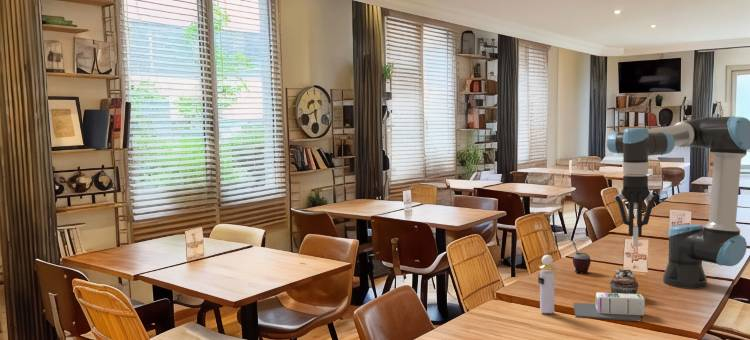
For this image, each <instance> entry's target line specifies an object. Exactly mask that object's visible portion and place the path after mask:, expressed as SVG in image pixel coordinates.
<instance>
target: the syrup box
mask: <svg viewBox="0 0 750 340" xmlns="http://www.w3.org/2000/svg"><path fill="white" fill-rule="evenodd" d="M645 302H646V299H645V298H644V296H643V295H642V294H641V293H636V294H627V293H611V292H601V291H600V292H599V291H598V292H596V293H595V304H596V309H597V311H598V313H604V314H623V315H639V316H645V312H646V311H645V310H646V309H645V308H646V306H645V304H646V303H645Z"/></svg>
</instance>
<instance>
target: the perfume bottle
mask: <svg viewBox="0 0 750 340" xmlns="http://www.w3.org/2000/svg"><path fill="white" fill-rule="evenodd" d="M553 258H554V257H552V255H550V254H543V256H542V258H541V263H542V264H538V265H537V266H538V269H540V271H539V275H538V276H537V277H538V282H537V283H538V284H539V311H540V312H541V313H544V314H553V313H555V270H556V269H557V265H555V264H553V263H554V259H553Z"/></svg>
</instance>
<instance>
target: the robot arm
mask: <svg viewBox="0 0 750 340" xmlns="http://www.w3.org/2000/svg"><path fill="white" fill-rule="evenodd" d="M675 146H677V147H680V148H687V147H689V148H690V147H692V148H693V147H694V148H703V149H709V154H710V155H711V156H712V157H713V164H712V165H713V167H712V179H711V192H710V200H709V201H710V202H709V203H710V204H709V214H708V215H709V216H708V218H709V219H708V222H707V223H706V224H704V225H703V224H698V223H697V224H692V223H691V224H690V223H689V224H688V223H687V224H676V225H672V226H671V227H670V228H669V232H668V263H667V264H666V265H667V266H666V267H665V270H664V273H663V277H662V282H663V283H664V284H666V285H668V286H671V287H675V288H676V287H677V288H682V289H683V288H684V289H703V288H706V287H707V286H708V282H707V281H708V279H707V276H706V274H705V270H704V267H703V262H706V263H711V264H716V265H719V266H725V267H726V266H727V267H734V266H737V265H738V264H739V263H740V262H741V261H742V260H743V259H744V257H745V255H746V252H747V247H748V246H747V245H748V244H747V243H748V242H747V240H746V238H745V237H744V236H742V235H741V229H740V228H739V227H738V226H737V215H738V201H739V190H740V177H741V165H742V164H741V163H742V159H743V158H744V157H745V156H747V153H748V152H747V150H748V151H749V150H750V119H748V118H746V117H743V116H706V117H699V118H694V119H690V120H685V121H679V122H677V123H675V124H673V125H668V126H661V127H660V126H659V127H652V128H647V127H627V128H625V129H624V130H623V132H621V131H617V132H611V133H610V134H609V135H608V136H607V137H606V148H607V150H608V151H609V152H610V153H613V154H618V155H619V154H623V155H622V156H623V158H622V159H623V160H622V161H623V163H622V165H623V166H622V169H623V171H622V173H623V174H624V175H623V176H622V189H621V192H620V193H619V194H615V195H614V199H615V200H616V202H617V204H618V208H619V213H620V217H621V219H622V223H623V224H624V225H625V226H628V235H629V237H630V236H631V245H632V246H633V247H639V237H641V236H642V234H643V233H642V232H643V229H642V227H643V226H647V225H648V223H649V221H650V217H651V212H652V211H653V206H654V203H655V202H656V200H657V198H658V197H657V196H656V195H655V194H654V195H653V194H652V193H650V190H649V176H648V173H649V156H663V155H667V154H670V153H671V152H672V151H673V150H674V148H675ZM624 198H625V200H626V201H627V202H628V203H627V204H628V219H627V216H626V215H627V214H626V211H625V207H624V203H623V200H624ZM646 199H647V200H648V201H647V204H646V208H645V212H644V215H643V202H644V201H645V200H646ZM635 204H636V224H634V214H635V213H634V211H635V210H634V206H635Z"/></svg>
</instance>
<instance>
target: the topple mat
mask: <svg viewBox="0 0 750 340" xmlns="http://www.w3.org/2000/svg"><path fill="white" fill-rule="evenodd" d="M573 304H574V305H573ZM573 304H572V305H573V311H574V316H575V318H582V319H583V318H584V319H586V318H587V319H596V320H597V319H600V320H610V321H611V320H612V321H613V320H614V321H627V322H629V321H630V322H639V321H638V320H641V321H642V318H641V315H623V314H604V313H598V311H597V309H596V303H590V302H589V303H588V302H586V303H584V302H573ZM635 320H637V321H635Z"/></svg>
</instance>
